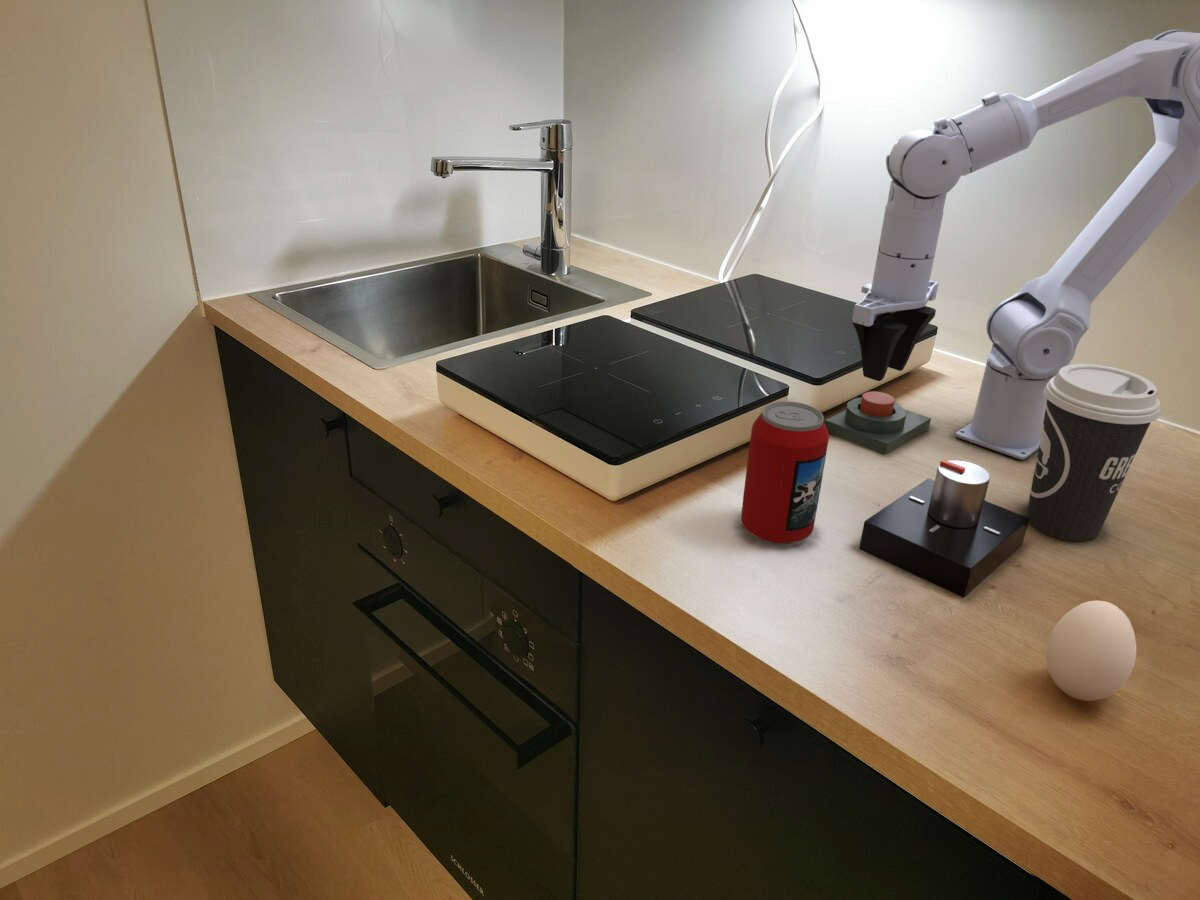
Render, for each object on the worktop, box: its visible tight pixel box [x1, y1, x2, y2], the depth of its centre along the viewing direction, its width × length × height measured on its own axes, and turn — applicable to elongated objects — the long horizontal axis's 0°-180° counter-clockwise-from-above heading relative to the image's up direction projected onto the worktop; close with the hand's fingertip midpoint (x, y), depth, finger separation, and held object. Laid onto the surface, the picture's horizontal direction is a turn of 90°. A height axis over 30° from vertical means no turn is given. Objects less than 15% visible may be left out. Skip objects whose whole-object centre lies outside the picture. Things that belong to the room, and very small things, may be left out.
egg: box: [1045, 599, 1137, 702], centre depth 64 cm, size 6×6×8 cm
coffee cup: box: [1025, 363, 1162, 542], centre depth 84 cm, size 10×10×15 cm
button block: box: [824, 397, 932, 455], centre depth 105 cm, size 10×8×3 cm
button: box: [860, 391, 896, 417], centre depth 103 cm, size 4×4×2 cm
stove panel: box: [858, 478, 1030, 599], centre depth 82 cm, size 12×10×3 cm
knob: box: [928, 459, 991, 528], centre depth 81 cm, size 4×4×5 cm
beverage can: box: [740, 400, 830, 545], centre depth 82 cm, size 7×7×12 cm
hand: (883, 372), depth 101 cm, fingers open, 4 cm apart
